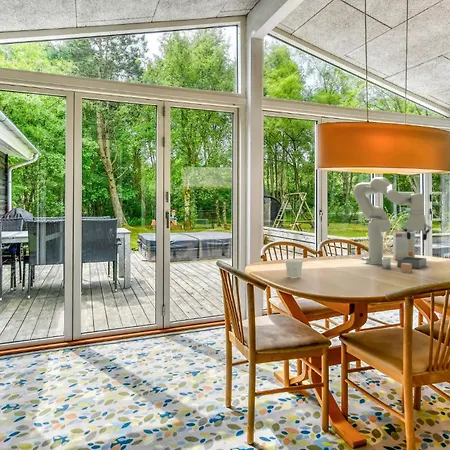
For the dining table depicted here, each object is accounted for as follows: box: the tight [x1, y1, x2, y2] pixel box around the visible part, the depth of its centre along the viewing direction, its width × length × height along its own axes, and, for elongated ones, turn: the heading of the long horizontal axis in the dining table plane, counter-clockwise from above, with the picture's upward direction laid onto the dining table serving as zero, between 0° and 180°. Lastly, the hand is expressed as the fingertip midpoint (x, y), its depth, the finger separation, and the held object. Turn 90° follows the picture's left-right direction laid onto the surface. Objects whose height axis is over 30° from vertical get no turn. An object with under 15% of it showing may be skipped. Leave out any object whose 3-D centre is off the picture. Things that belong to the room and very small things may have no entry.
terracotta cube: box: [400, 263, 413, 273], centre depth 236 cm, size 5×5×5 cm
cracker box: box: [392, 231, 416, 261], centre depth 285 cm, size 14×6×21 cm, turn 84°
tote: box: [396, 256, 427, 270], centre depth 256 cm, size 18×14×5 cm
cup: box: [284, 258, 303, 277], centre depth 221 cm, size 10×10×10 cm
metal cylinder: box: [381, 257, 392, 270], centre depth 247 cm, size 5×5×7 cm
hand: (416, 239), depth 240 cm, fingers open, 9 cm apart
